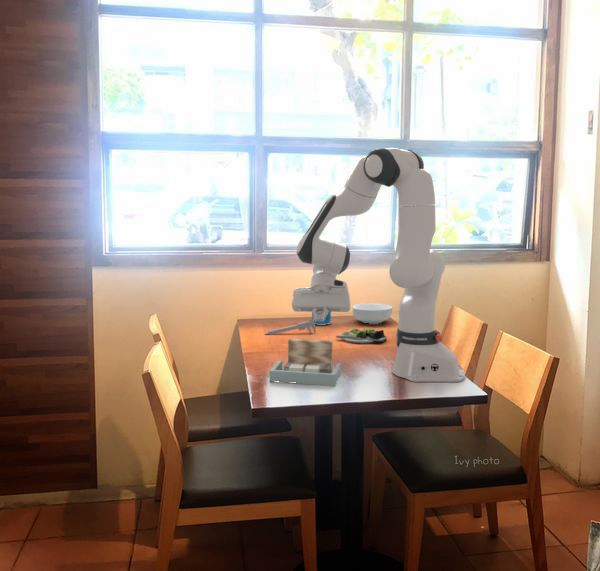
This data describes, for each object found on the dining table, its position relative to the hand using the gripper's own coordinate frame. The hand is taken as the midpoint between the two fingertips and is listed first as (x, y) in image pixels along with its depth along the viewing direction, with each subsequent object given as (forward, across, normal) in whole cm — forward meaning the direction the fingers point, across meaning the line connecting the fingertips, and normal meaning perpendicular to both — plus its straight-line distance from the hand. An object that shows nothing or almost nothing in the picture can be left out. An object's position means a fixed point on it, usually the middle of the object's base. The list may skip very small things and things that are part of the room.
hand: (319, 320), depth 218 cm
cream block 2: (+25, +1, -5) cm, 26 cm away
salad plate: (-13, +12, +33) cm, 38 cm away
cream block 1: (+25, -4, -6) cm, 26 cm away
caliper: (-16, -18, +34) cm, 42 cm away
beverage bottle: (-30, -9, +48) cm, 58 cm away
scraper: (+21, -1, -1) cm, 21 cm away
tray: (+25, -1, -5) cm, 25 cm away
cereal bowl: (-35, +12, +54) cm, 65 cm away
